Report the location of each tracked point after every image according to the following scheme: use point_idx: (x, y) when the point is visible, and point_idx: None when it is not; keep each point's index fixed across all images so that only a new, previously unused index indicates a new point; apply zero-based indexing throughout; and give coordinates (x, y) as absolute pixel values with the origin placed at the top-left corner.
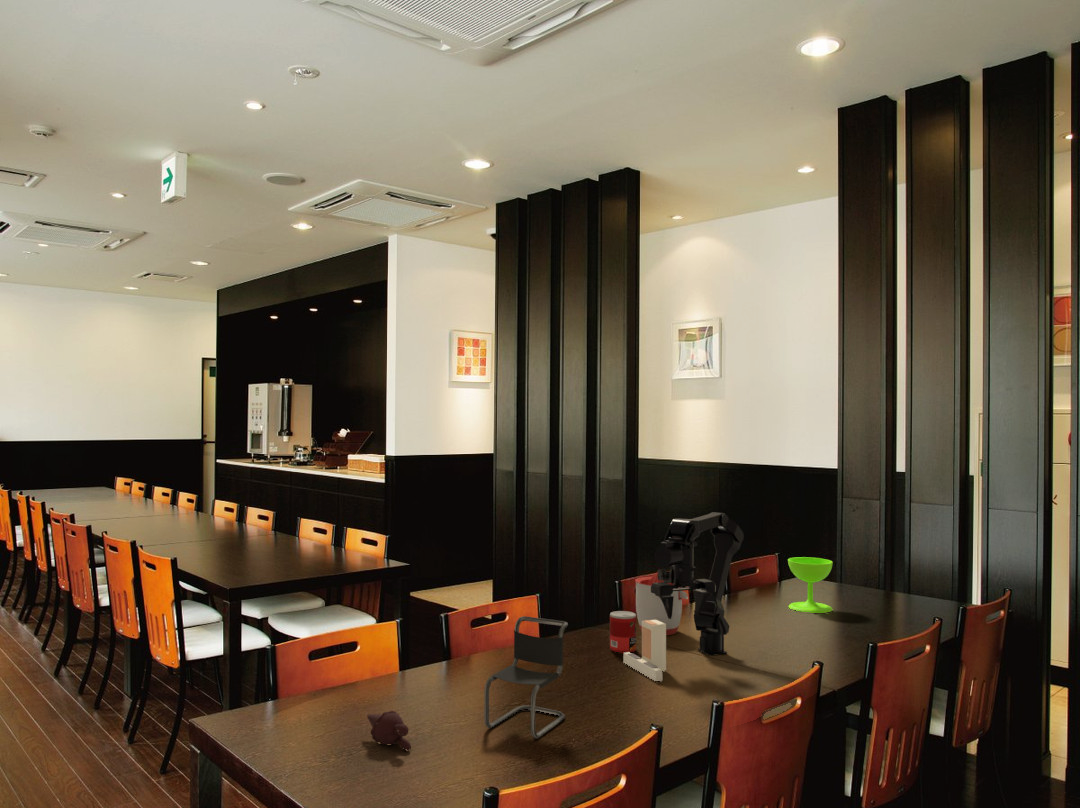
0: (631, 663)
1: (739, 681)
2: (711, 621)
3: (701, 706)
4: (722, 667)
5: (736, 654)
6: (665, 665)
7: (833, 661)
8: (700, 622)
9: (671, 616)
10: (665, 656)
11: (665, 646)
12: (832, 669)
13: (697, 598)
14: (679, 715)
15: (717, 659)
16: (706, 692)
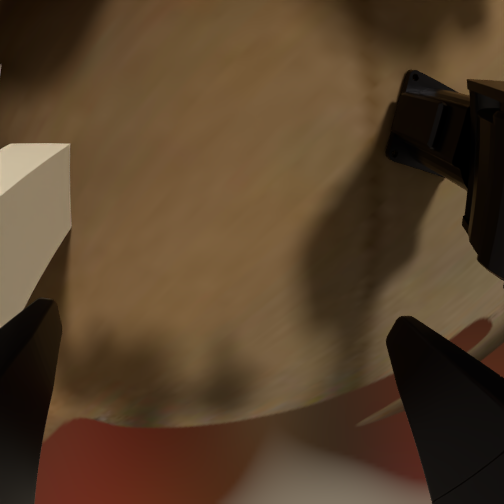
0: None
1: (236, 381)
2: (483, 254)
3: (60, 423)
4: (304, 282)
5: (458, 195)
6: (62, 237)
7: (496, 329)
8: (481, 161)
9: (53, 361)
10: (48, 259)
11: (30, 290)
12: None
13: (489, 461)
14: None
15: (372, 202)
16: (102, 396)
